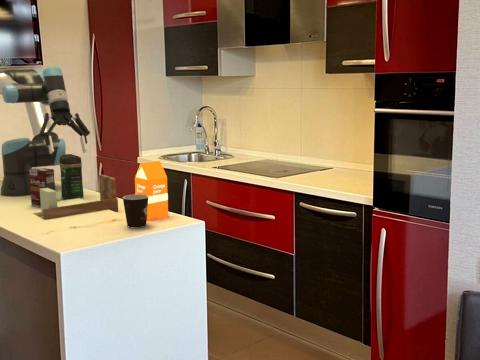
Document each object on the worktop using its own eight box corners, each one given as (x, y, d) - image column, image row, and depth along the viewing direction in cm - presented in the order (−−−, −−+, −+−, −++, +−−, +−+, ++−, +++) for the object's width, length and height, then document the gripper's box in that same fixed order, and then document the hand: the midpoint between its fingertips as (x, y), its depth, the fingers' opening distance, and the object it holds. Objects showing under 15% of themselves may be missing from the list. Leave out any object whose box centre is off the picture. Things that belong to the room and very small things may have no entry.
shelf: (32, 217, 216) (30, 183, 214) (104, 205, 233) (102, 174, 231) (45, 223, 207) (42, 188, 205) (118, 211, 224) (116, 178, 222)
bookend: (41, 213, 216) (39, 188, 214) (49, 211, 218) (47, 187, 216) (49, 217, 210) (47, 192, 208) (57, 216, 212) (56, 191, 210)
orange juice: (136, 216, 216) (133, 162, 212) (155, 212, 222) (153, 159, 218) (148, 220, 210) (146, 164, 207) (168, 216, 216) (167, 161, 213)
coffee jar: (86, 199, 246) (84, 154, 242) (67, 202, 241) (65, 156, 238) (77, 195, 253) (74, 152, 250) (59, 198, 249) (56, 154, 245)
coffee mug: (138, 221, 210) (136, 193, 208) (154, 224, 204) (153, 196, 203) (111, 227, 201) (110, 198, 199) (128, 232, 196) (127, 202, 194)
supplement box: (31, 210, 228) (28, 169, 225) (40, 207, 232) (37, 167, 229) (47, 212, 224) (44, 170, 221) (57, 209, 228) (54, 168, 225)
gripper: (30, 98, 230) (40, 149, 225) (91, 99, 245) (101, 147, 241) (24, 106, 236) (34, 156, 231) (84, 107, 251) (94, 154, 246)
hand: (68, 152), depth 236 cm, fingers open, 13 cm apart
